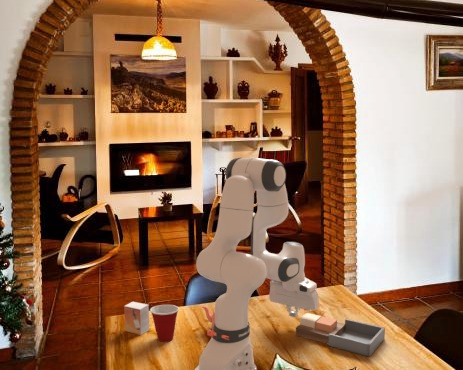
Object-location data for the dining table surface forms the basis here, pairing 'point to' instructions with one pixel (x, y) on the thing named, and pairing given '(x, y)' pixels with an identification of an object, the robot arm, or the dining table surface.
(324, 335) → the plate
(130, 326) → the small box
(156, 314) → the plastic cup
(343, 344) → the box
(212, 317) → the pink branching coral
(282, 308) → the dining table surface
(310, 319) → the tile rear
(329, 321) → the tile front
